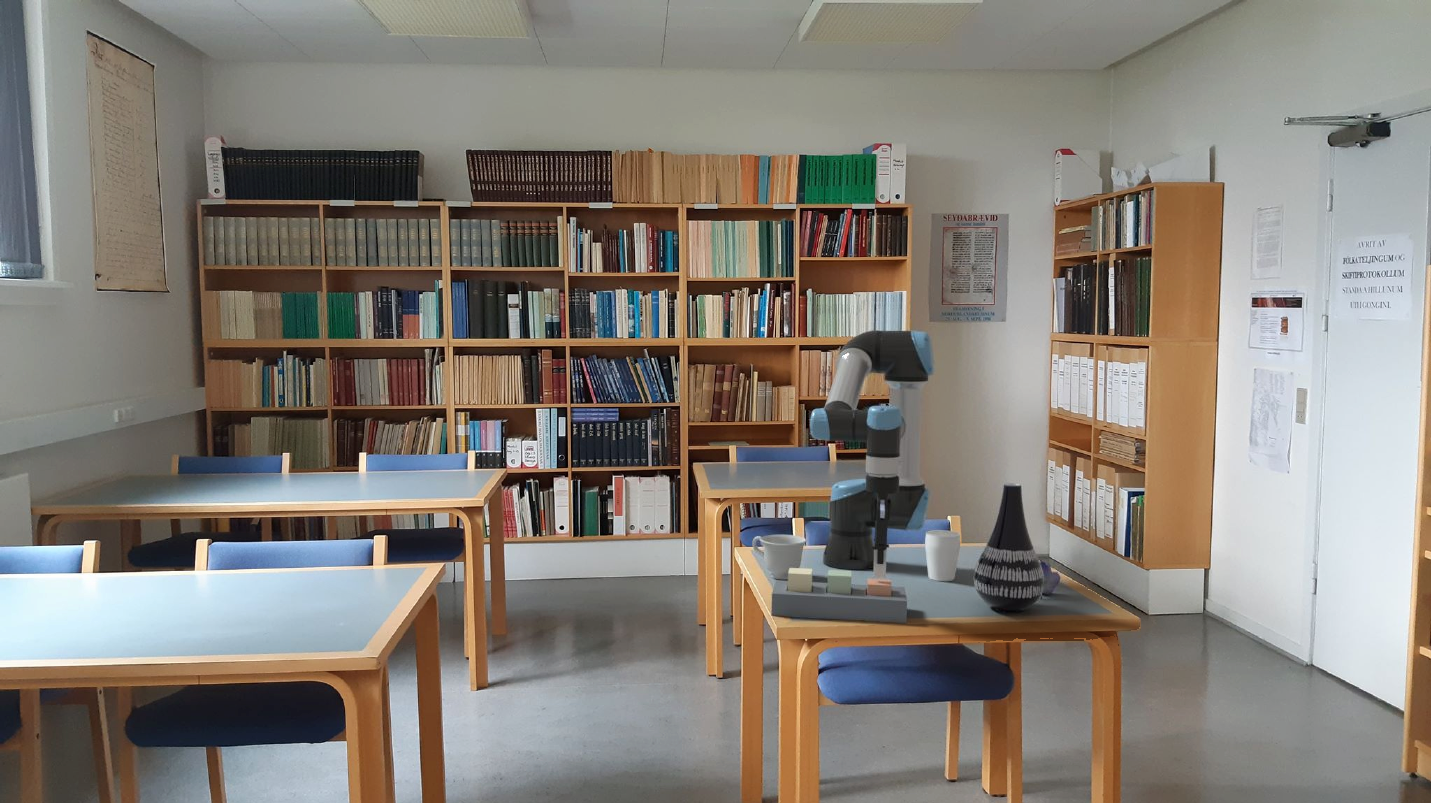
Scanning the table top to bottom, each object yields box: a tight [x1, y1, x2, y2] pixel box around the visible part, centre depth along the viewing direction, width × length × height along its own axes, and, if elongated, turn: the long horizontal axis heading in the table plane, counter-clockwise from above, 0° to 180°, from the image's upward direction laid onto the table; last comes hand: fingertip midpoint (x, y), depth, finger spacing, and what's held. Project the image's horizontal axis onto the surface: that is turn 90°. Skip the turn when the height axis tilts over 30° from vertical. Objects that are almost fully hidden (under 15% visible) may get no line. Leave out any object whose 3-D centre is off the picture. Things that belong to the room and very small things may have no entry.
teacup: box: [752, 534, 807, 581], centre depth 257 cm, size 12×15×10 cm
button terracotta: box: [866, 578, 892, 597], centre depth 224 cm, size 5×5×6 cm
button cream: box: [787, 567, 813, 592], centre depth 226 cm, size 5×5×6 cm
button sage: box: [827, 569, 852, 594], centre depth 225 cm, size 5×5×6 cm
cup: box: [924, 529, 961, 582], centre depth 258 cm, size 9×9×12 cm
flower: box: [1039, 559, 1061, 600], centre depth 243 cm, size 9×9×10 cm
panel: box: [770, 579, 908, 624], centre depth 225 cm, size 30×12×5 cm, turn 82°
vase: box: [973, 482, 1044, 614], centre depth 229 cm, size 16×16×30 cm
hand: (879, 576), depth 224 cm, fingers closed
